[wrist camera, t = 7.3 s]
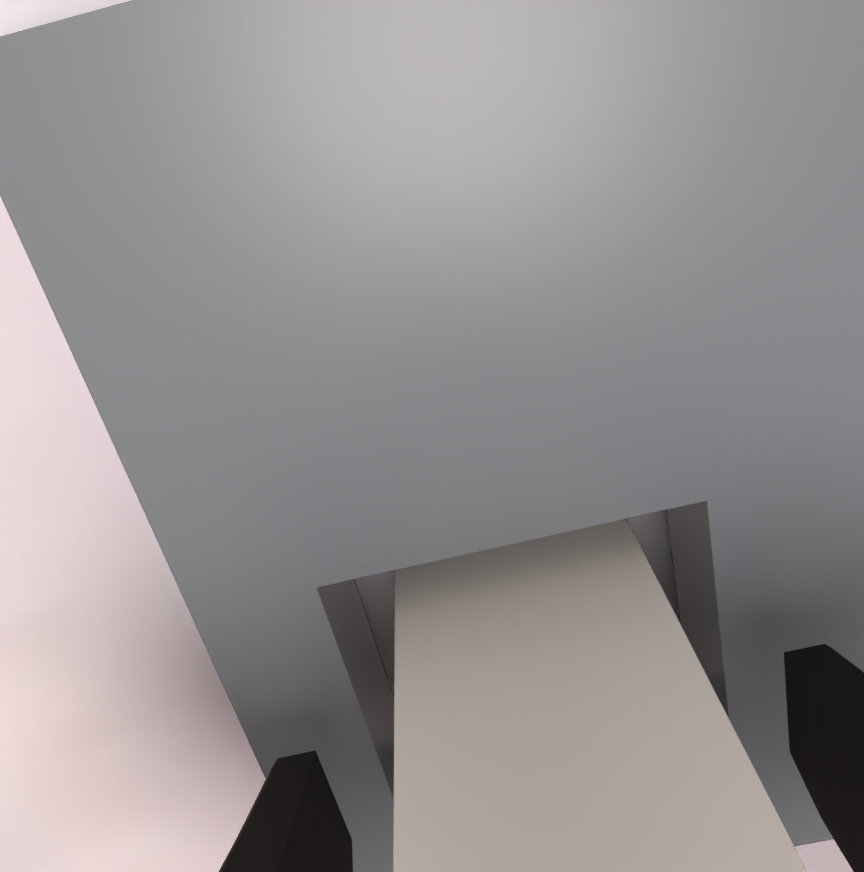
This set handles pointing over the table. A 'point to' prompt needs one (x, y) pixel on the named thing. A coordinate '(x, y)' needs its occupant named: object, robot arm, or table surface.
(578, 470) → the outlet plate
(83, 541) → the table surface
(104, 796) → the table surface
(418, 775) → the beige rectangular block
